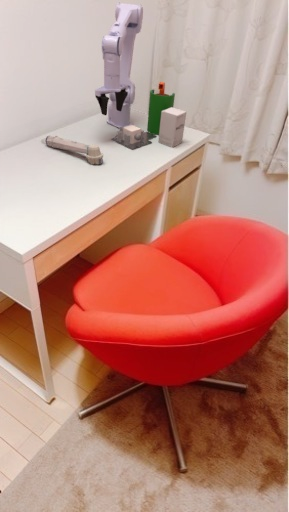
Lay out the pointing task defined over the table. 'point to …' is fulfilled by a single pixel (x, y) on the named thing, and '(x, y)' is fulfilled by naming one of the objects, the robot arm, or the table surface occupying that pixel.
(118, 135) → the grey peg tray
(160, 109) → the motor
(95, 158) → the beige long angled cylinder
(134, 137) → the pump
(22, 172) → the table surface
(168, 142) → the supplement box
